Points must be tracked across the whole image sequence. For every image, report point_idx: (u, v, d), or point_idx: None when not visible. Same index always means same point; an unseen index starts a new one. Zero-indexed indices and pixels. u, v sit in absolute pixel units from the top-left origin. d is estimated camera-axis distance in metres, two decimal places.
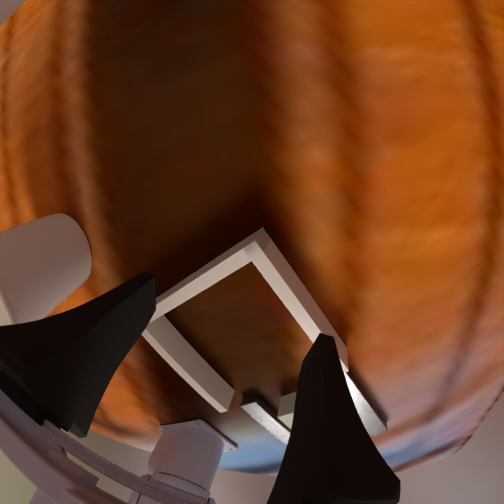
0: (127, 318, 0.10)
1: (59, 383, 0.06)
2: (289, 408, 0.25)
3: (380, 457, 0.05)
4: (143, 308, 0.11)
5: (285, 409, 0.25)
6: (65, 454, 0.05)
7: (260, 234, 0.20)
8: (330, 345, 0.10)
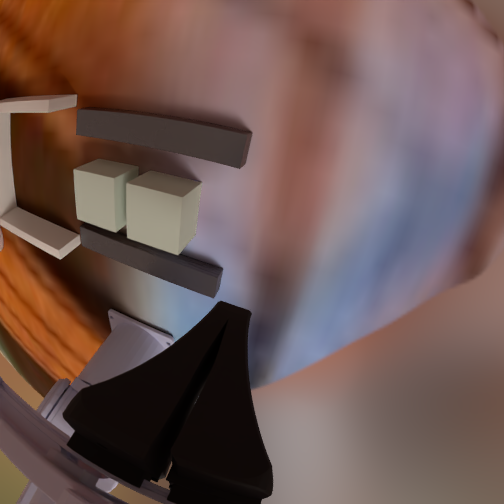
0: (212, 354, 0.10)
1: (164, 443, 0.06)
2: None
3: (256, 436, 0.06)
4: None
5: None
6: (65, 454, 0.05)
7: None
8: (241, 317, 0.10)
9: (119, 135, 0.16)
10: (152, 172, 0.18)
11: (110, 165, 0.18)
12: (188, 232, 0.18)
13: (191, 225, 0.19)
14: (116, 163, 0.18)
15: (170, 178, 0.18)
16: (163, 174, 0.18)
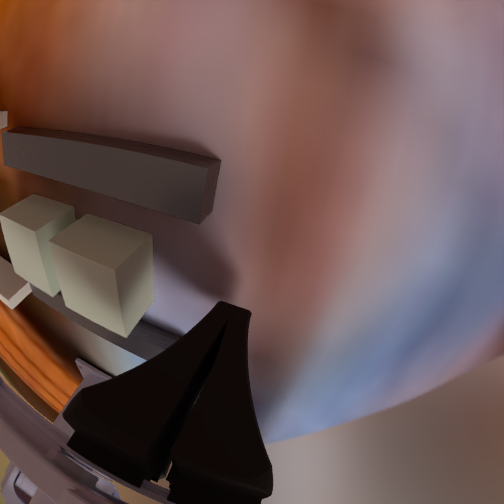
0: (212, 354, 0.10)
1: (164, 442, 0.06)
2: None
3: (256, 436, 0.06)
4: None
5: None
6: (65, 454, 0.05)
7: None
8: (241, 317, 0.10)
9: (42, 168, 0.10)
10: (88, 217, 0.12)
11: (40, 207, 0.12)
12: (139, 304, 0.12)
13: (144, 293, 0.13)
14: (49, 202, 0.12)
15: (109, 228, 0.12)
16: (102, 221, 0.12)
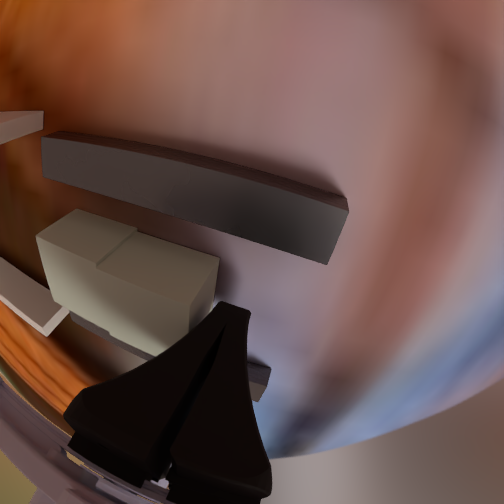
0: (213, 354, 0.10)
1: (165, 443, 0.06)
2: None
3: (255, 436, 0.06)
4: None
5: None
6: (65, 454, 0.05)
7: None
8: (240, 317, 0.10)
9: (106, 186, 0.10)
10: (138, 238, 0.12)
11: (90, 228, 0.11)
12: None
13: None
14: (100, 222, 0.12)
15: (166, 253, 0.11)
16: (155, 243, 0.11)
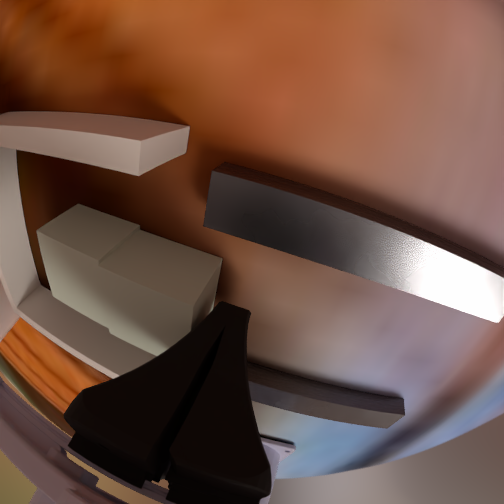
0: (214, 354, 0.10)
1: (166, 443, 0.06)
2: None
3: (255, 436, 0.06)
4: None
5: None
6: (65, 454, 0.05)
7: None
8: (240, 317, 0.10)
9: (334, 256, 0.09)
10: (140, 236, 0.11)
11: (93, 224, 0.11)
12: None
13: None
14: (102, 218, 0.12)
15: (169, 252, 0.11)
16: (158, 241, 0.11)
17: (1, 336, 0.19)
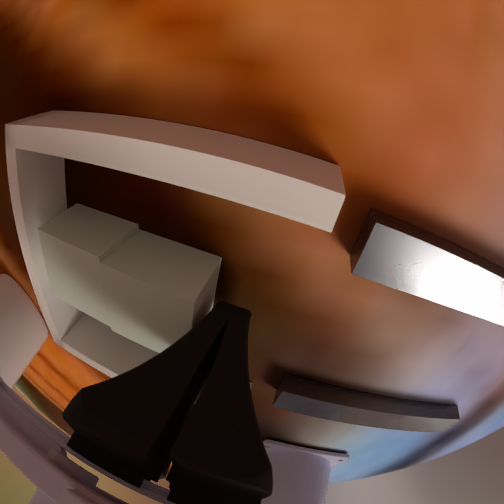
0: (212, 354, 0.10)
1: (164, 442, 0.06)
2: None
3: (256, 436, 0.06)
4: None
5: None
6: (65, 454, 0.05)
7: None
8: (241, 317, 0.10)
9: (455, 299, 0.08)
10: (142, 234, 0.12)
11: (93, 222, 0.11)
12: None
13: None
14: (103, 216, 0.12)
15: (170, 249, 0.11)
16: (159, 239, 0.12)
17: (29, 361, 0.18)
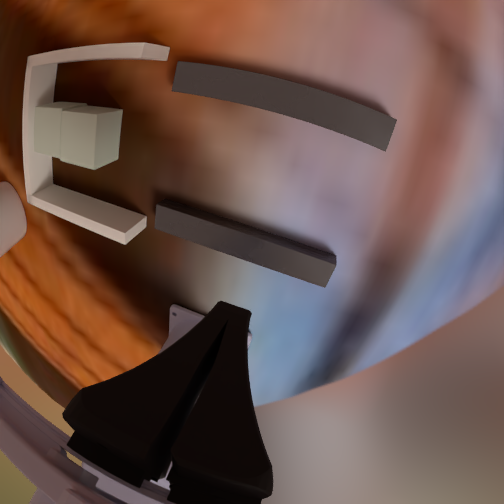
0: (212, 354, 0.10)
1: (164, 443, 0.06)
2: None
3: (256, 436, 0.06)
4: None
5: None
6: (65, 454, 0.05)
7: None
8: (241, 317, 0.10)
9: (241, 96, 0.14)
10: (87, 106, 0.17)
11: (64, 104, 0.17)
12: (107, 151, 0.18)
13: (111, 147, 0.18)
14: (70, 102, 0.17)
15: (98, 108, 0.17)
16: (95, 106, 0.17)
17: (7, 244, 0.24)
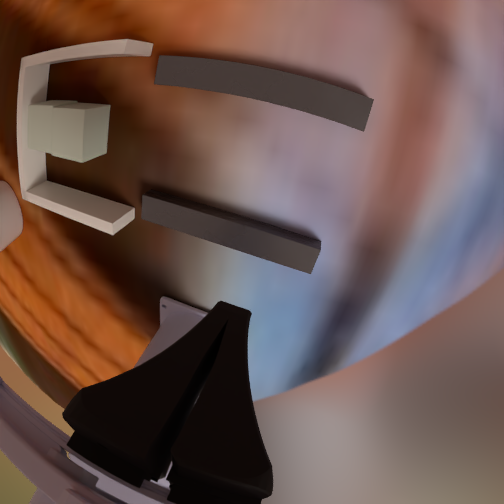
0: (212, 354, 0.10)
1: (164, 442, 0.06)
2: None
3: (256, 436, 0.06)
4: None
5: None
6: (65, 454, 0.05)
7: None
8: (241, 317, 0.10)
9: (219, 85, 0.14)
10: (77, 103, 0.17)
11: (56, 101, 0.17)
12: (95, 145, 0.18)
13: (99, 141, 0.18)
14: (62, 100, 0.17)
15: (87, 104, 0.17)
16: (85, 103, 0.17)
17: (4, 241, 0.24)
